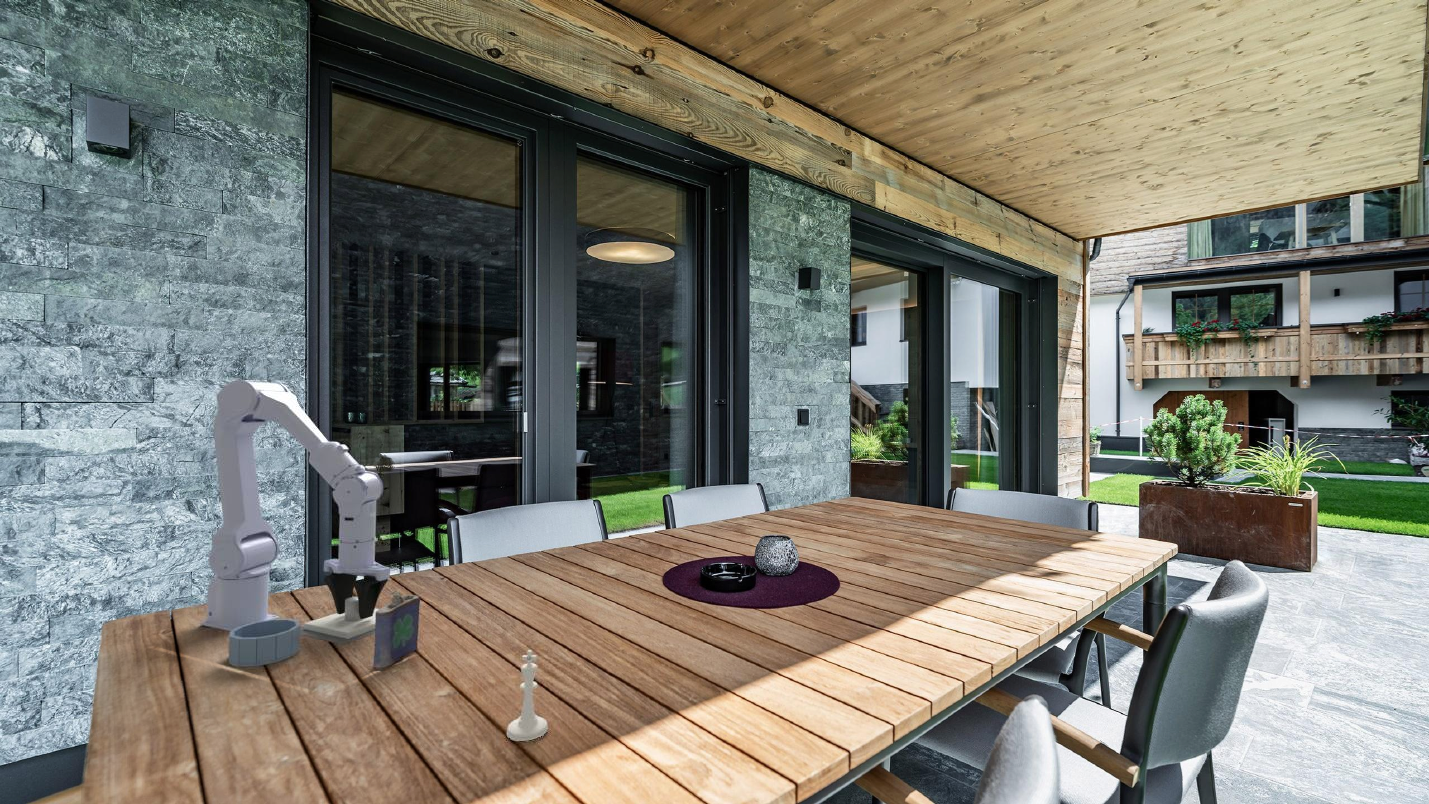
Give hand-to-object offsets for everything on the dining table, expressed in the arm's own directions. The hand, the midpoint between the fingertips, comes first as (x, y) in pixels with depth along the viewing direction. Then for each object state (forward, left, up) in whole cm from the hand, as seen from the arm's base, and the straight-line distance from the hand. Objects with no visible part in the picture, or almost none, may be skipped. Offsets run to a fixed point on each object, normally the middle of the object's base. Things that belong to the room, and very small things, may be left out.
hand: (354, 615), depth 112 cm
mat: (0, 0, -2) cm, 2 cm away
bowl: (0, -16, -2) cm, 16 cm away
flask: (+19, -8, -2) cm, 21 cm away
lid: (0, 0, -2) cm, 2 cm away
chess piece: (+52, -16, -2) cm, 55 cm away
